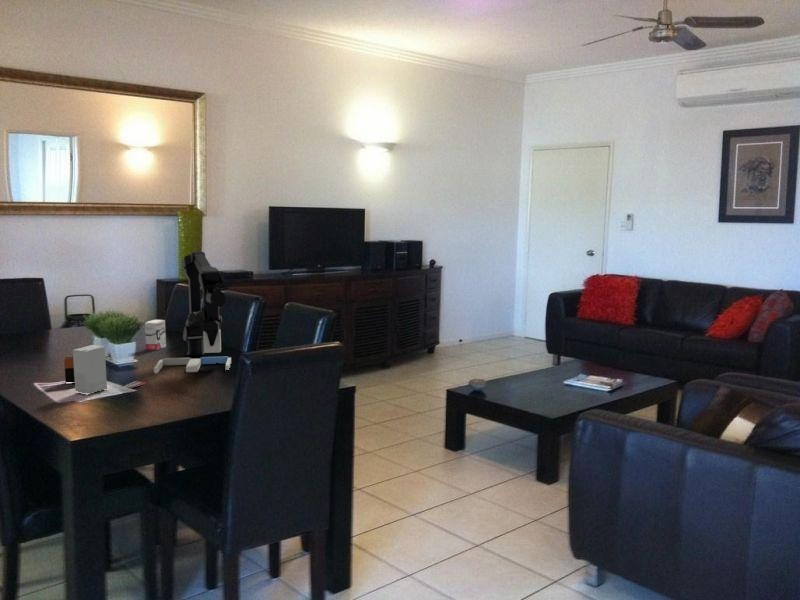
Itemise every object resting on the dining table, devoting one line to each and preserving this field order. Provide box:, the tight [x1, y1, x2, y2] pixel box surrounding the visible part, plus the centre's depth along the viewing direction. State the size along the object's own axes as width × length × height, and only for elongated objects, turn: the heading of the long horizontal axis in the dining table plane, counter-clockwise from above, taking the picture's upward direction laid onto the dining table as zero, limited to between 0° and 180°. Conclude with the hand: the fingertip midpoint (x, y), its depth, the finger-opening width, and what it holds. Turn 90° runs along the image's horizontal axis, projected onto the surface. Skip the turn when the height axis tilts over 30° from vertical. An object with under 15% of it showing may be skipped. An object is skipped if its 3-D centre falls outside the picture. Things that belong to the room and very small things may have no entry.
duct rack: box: [153, 355, 232, 374], centre depth 271 cm, size 14×26×2 cm, turn 100°
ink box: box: [144, 319, 167, 351], centre depth 307 cm, size 8×5×12 cm, turn 169°
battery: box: [63, 353, 75, 383], centre depth 248 cm, size 4×7×10 cm, turn 110°
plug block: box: [202, 328, 222, 354], centre depth 271 cm, size 4×6×8 cm, turn 100°
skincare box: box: [72, 344, 108, 393], centre depth 235 cm, size 8×6×15 cm
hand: (212, 344), depth 271 cm, fingers closed on plug block, 4 cm apart
